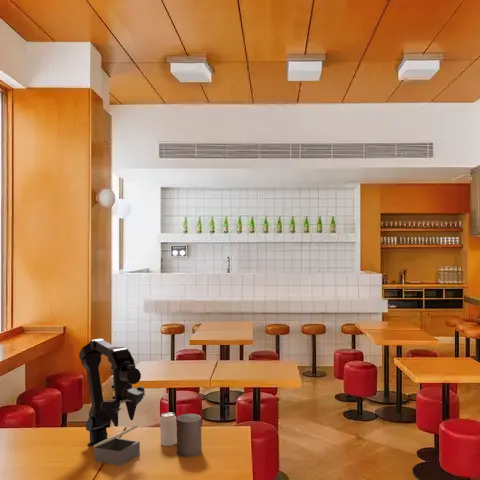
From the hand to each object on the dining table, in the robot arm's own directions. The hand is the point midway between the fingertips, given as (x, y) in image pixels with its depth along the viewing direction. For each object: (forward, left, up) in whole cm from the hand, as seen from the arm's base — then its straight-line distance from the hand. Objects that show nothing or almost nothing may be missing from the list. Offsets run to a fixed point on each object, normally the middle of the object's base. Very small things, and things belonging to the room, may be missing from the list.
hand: (124, 423), depth 218 cm
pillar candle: (+20, +15, -14) cm, 28 cm away
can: (+7, +20, -14) cm, 25 cm away
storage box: (-3, 0, -13) cm, 14 cm away
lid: (-4, 0, -6) cm, 7 cm away
